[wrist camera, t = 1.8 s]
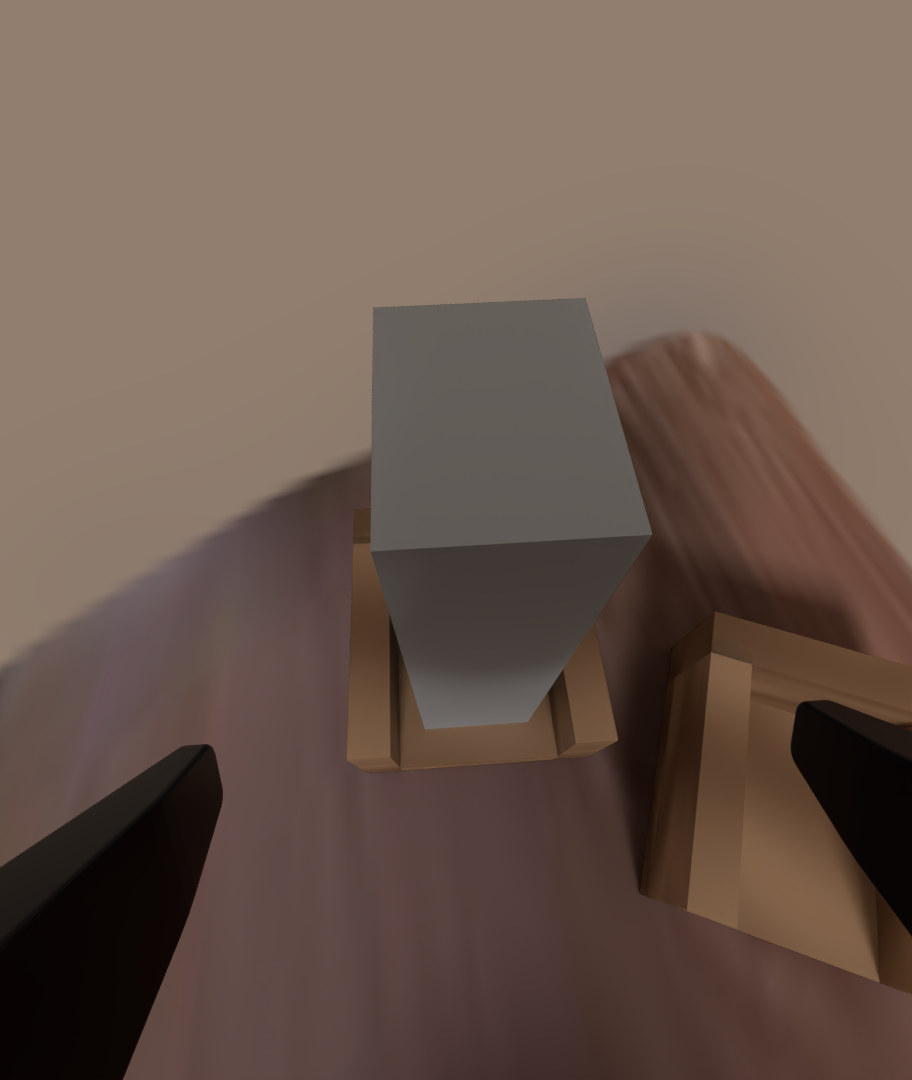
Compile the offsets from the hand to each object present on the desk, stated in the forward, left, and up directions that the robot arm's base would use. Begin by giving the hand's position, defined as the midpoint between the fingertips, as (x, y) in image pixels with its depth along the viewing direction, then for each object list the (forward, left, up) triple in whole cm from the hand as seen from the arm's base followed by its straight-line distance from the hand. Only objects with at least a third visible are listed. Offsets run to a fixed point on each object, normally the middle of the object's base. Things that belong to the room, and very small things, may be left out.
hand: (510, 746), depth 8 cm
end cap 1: (+4, +2, -11) cm, 12 cm away
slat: (+4, +2, -10) cm, 11 cm away
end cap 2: (+4, -9, -11) cm, 14 cm away
